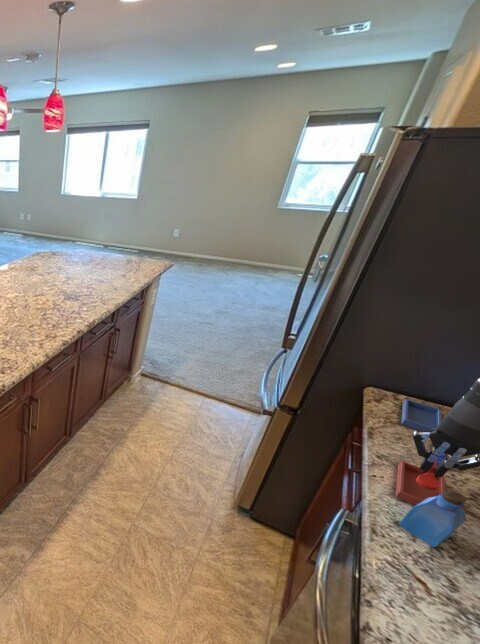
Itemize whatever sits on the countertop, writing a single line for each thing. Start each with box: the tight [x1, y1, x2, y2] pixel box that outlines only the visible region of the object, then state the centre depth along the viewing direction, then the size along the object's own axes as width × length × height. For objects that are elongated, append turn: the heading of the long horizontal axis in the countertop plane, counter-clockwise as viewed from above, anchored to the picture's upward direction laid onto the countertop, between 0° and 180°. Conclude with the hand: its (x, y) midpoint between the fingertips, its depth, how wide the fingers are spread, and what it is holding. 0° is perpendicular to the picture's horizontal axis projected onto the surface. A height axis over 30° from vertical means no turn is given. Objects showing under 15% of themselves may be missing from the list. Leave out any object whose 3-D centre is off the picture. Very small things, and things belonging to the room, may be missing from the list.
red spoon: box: [416, 459, 440, 490], centre depth 95 cm, size 11×4×2 cm, turn 134°
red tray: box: [395, 460, 446, 506], centre depth 97 cm, size 14×8×2 cm, turn 134°
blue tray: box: [400, 398, 443, 432], centre depth 119 cm, size 14×8×2 cm, turn 134°
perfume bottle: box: [397, 489, 468, 548], centre depth 84 cm, size 6×6×12 cm
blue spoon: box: [436, 453, 446, 467], centre depth 106 cm, size 11×4×2 cm, turn 135°
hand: (428, 472), depth 96 cm, fingers closed on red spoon, 1 cm apart
